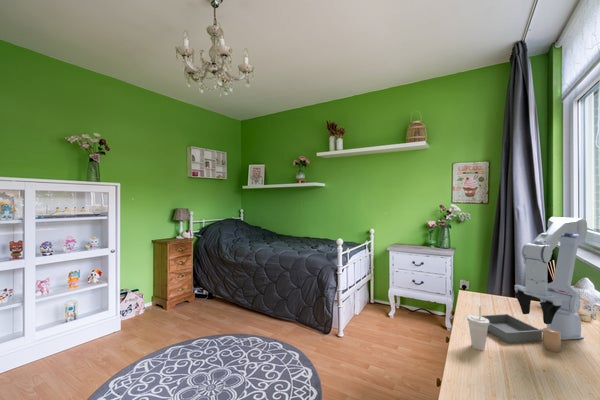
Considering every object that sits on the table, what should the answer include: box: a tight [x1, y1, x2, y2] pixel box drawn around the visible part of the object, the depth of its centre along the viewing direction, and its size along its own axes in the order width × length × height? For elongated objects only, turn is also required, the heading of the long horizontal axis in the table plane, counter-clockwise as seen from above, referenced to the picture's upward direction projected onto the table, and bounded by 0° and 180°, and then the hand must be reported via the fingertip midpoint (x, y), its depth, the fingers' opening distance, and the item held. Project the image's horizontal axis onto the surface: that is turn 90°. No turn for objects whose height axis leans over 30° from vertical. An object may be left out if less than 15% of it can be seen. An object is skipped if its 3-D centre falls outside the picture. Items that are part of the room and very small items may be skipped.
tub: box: [481, 313, 543, 344], centre depth 103 cm, size 14×14×4 cm
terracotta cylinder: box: [542, 327, 562, 353], centre depth 91 cm, size 4×4×6 cm
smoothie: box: [466, 305, 490, 351], centre depth 92 cm, size 6×6×14 cm
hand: (536, 318), depth 93 cm, fingers open, 7 cm apart
